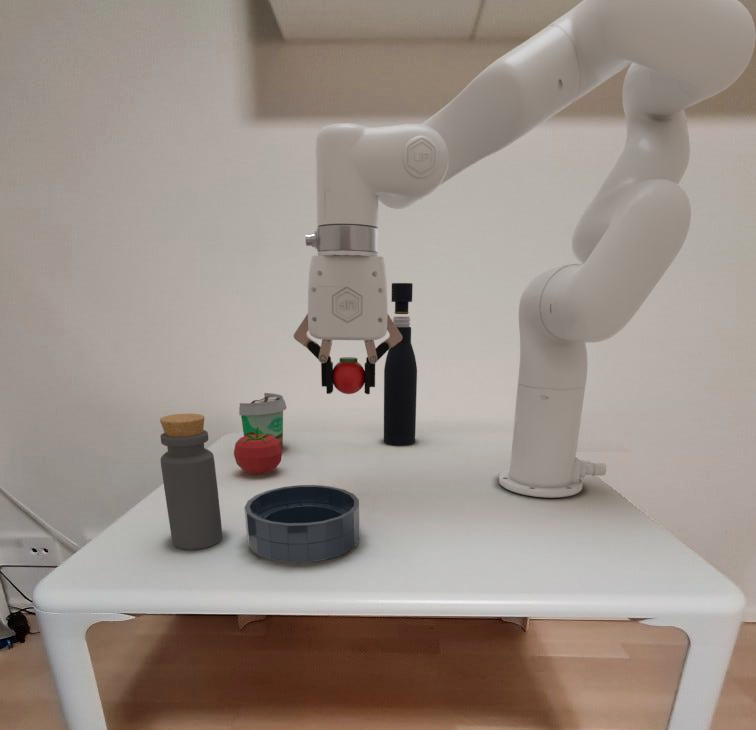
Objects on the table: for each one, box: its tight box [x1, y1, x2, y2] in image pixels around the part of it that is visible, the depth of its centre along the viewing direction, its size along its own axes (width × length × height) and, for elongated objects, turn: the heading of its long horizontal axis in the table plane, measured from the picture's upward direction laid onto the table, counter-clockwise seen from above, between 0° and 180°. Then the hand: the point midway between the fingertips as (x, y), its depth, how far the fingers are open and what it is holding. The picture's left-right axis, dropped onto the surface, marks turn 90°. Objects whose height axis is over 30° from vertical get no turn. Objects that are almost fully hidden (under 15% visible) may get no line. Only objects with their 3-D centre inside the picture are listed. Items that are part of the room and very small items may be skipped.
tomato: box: [233, 427, 283, 475], centre depth 90 cm, size 8×8×8 cm
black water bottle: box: [383, 282, 418, 447], centre depth 105 cm, size 6×6×30 cm
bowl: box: [244, 484, 361, 563], centre depth 65 cm, size 13×13×5 cm
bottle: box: [159, 413, 223, 551], centre depth 63 cm, size 6×6×15 cm
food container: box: [238, 392, 287, 451], centre depth 102 cm, size 12×6×10 cm, turn 168°
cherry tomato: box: [332, 356, 365, 395], centre depth 73 cm, size 5×5×5 cm
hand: (348, 391), depth 74 cm, fingers closed on cherry tomato, 4 cm apart
